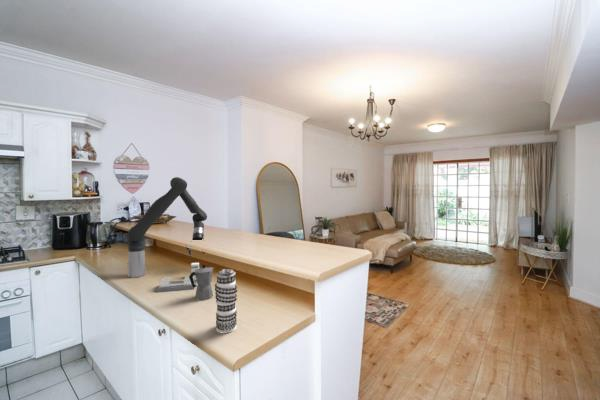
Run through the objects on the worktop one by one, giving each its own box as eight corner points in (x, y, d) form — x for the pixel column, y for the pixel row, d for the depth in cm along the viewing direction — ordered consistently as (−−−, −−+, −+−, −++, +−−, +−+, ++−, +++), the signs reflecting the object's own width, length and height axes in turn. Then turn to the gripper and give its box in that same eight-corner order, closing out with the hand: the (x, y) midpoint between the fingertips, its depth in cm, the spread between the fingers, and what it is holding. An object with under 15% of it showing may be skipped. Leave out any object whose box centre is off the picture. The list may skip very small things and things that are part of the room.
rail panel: (156, 292, 152) (156, 283, 152) (161, 284, 164) (161, 276, 163) (194, 288, 157) (194, 280, 157) (196, 281, 169) (196, 274, 168)
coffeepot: (208, 291, 154) (208, 260, 153) (219, 294, 149) (219, 263, 148) (184, 300, 141) (183, 267, 140) (195, 305, 136) (195, 270, 135)
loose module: (191, 278, 175) (190, 264, 174) (192, 276, 179) (191, 262, 179) (198, 277, 176) (198, 264, 176) (199, 275, 181) (199, 262, 180)
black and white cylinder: (212, 325, 116) (212, 269, 115) (233, 320, 121) (233, 266, 119) (218, 336, 108) (217, 275, 107) (240, 329, 113) (239, 271, 112)
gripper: (187, 232, 192) (185, 251, 181) (208, 231, 195) (207, 250, 185) (188, 238, 197) (186, 257, 187) (208, 237, 201) (207, 256, 190)
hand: (196, 254), depth 186 cm, fingers open, 8 cm apart
